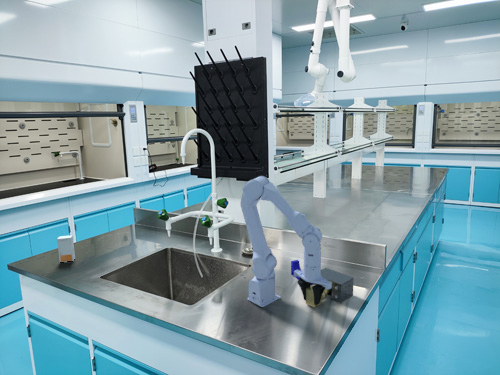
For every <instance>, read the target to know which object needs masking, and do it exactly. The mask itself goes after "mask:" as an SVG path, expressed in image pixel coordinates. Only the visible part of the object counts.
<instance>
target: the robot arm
mask: <svg viewBox="0 0 500 375" xmlns="http://www.w3.org/2000/svg"><path fill="white" fill-rule="evenodd" d="M260 200H262V201H267V202H268V201H269V202H271V203H272V205H274V206H275V208H277V209H278V210H279V211H280V212H281V213H282V214H283V215H284V216H285V217H286V218H287V219H286V222H287V225H289V227H290V228H291V230H292V231H294V232H295V234H296V235H297V236H298V237H299V238H300V239H301V244H302V246H303V270H301V271H300V270H295V271H294V276H295V277H300V280H298V279H297V285H299V287H300V290H301V293H302V295H303V296H302V297H303V301H305V302H306V288H308V287H310V286H312V285H311V283H315V284H316V285H315V286H313V287H312V290H313V293H314V305H318V304H319V303H320V300H321V296H322V294H323V292H324V290H325V288H326V289H328V290H329V289H331V288H332V282H330V281H328V280H326V279H325V278H323V277H322V276H321V270H322V250H321V249H322V247H321V243H322V240H323V233H322V231H321V230H320V229H319V228H318V227H316V226H315V225H313V224H312V223H311V222H310V221H309V220H308V219H307V218H306V217H307V215H306V214H305V213H302V212H300V211H296V210H295V209H293V207H292V206H291V205H290V203H289V202H287V200H286V199H285V198H284V197H283V195H282V194H281V193H280V192H279V190H278V189H277V188H276V186H275V184H274V183H273V182H271V181H270V179H269V178H267V176H264V175H259V176H257V177H255V178H253V179H250V180H248V181H247V182H246V183H245V185H243V187H242V195H241V199H240V202H239V203H240V208H241V212H242V215H243V219H244V223H245V226H246V229H247V232H248V237H249V240H250V245H251V247H252V250H253V253H252V260H251V261H252V273H253V275H254V277H253V278H252V279H250V280H249V282H248V297H247V298H246V299H247V301H249V302H252V303H253V304H255V305H257V306H259V307H261V308H264V307H267V306H268V305H270V304H272V303H274V302H276V301H278V300H280V299H281V295H279V294H276V272H275V268H276V266H277V264H278V260H277V257H276V256H275V255H274V253H273V251H272V249H271V248H270V247H269V246H268V242H267V239H266V236H265V231H264V228H263V225H262V221H261V217H260V214H259V210H258V207H257V204H258V203H259V201H260ZM294 276H293V277H294ZM295 277H294V278H295ZM318 306H319V305H318Z"/></svg>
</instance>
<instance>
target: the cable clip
mask: <svg viewBox="0 0 500 375" xmlns="http://www.w3.org/2000/svg"><path fill="white" fill-rule="evenodd" d="M295 270H300V271H302V268H301V266H300V260H298V259H294V260H291V261H290V274H291V276H293V277H294V278H295V279H297V281H298V280H300V277H295V276H294V271H295ZM312 285H313V283H311V286H312Z"/></svg>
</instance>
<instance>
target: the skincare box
mask: <svg viewBox="0 0 500 375" xmlns="http://www.w3.org/2000/svg"><path fill="white" fill-rule="evenodd" d="M56 242H57V251H58V259H59V263H60V262H64V263H68V262H67V261H73V262H75V260H76V255H75V254H76V253H75V246H74V235H73V234H72V235H62V236H58V237H57V239H56ZM74 259H75V260H74Z"/></svg>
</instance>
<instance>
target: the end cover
mask: <svg viewBox="0 0 500 375" xmlns="http://www.w3.org/2000/svg"><path fill="white" fill-rule="evenodd" d="M313 286H315V285H311V286H310V287H308V288H306V301H305V304H306V305H308V306H311V307H312V308H316V307H318V306H320V305H321V304H322V303H323V301H324V300H325V298H326V297H325V295H326V294H328V293H330V292H331V291H332V288H331V289H329V290H328V289H326V288H325V290H324V292H323V294H322V296H321V300H320V303H319V304H318V305H314V293H313V290H312V287H313Z"/></svg>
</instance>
